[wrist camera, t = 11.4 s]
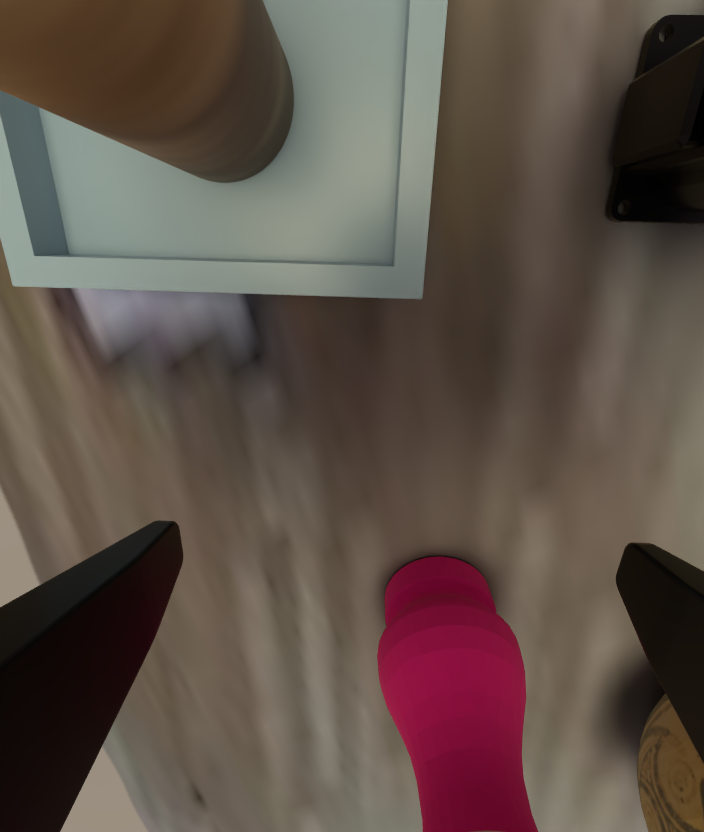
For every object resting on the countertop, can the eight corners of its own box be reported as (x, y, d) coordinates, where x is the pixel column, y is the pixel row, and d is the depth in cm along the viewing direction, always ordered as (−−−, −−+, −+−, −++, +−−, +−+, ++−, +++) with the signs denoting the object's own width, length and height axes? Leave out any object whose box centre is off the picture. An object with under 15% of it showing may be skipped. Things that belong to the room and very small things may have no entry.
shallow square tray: (436, -84, 15) (468, -243, 10) (409, 284, 19) (422, 299, 14) (34, -86, 15) (-126, -240, 10) (101, 274, 20) (13, 286, 15)
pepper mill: (415, 655, 28) (502, 1475, 9) (353, 581, 26) (306, 1452, 7) (518, 611, 26) (876, 1516, 8) (460, 528, 24) (761, 1501, 5)
